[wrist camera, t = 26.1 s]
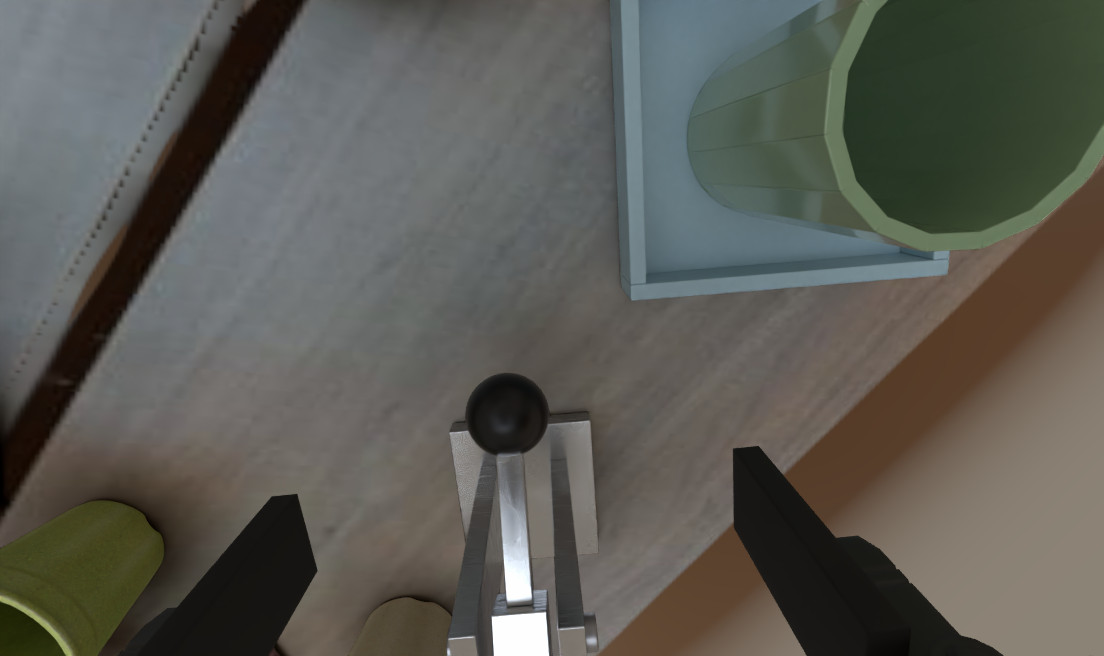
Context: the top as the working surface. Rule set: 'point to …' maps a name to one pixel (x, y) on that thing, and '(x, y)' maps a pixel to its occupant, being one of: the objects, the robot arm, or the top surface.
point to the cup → (908, 119)
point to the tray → (671, 186)
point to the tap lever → (513, 506)
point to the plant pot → (75, 579)
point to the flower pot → (404, 630)
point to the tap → (554, 524)
